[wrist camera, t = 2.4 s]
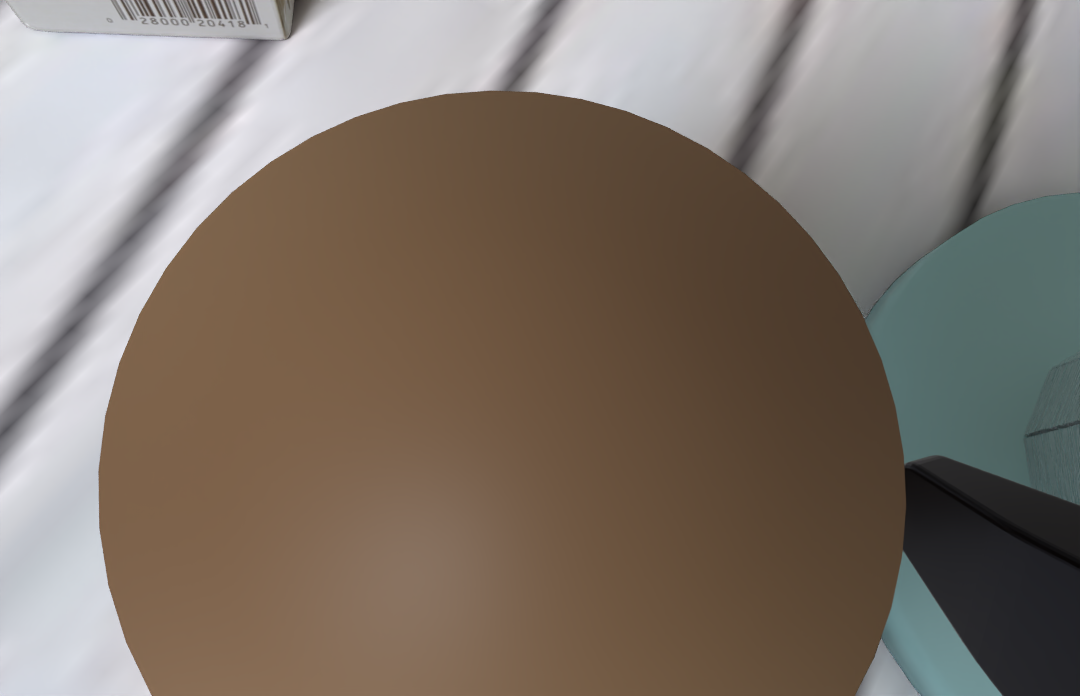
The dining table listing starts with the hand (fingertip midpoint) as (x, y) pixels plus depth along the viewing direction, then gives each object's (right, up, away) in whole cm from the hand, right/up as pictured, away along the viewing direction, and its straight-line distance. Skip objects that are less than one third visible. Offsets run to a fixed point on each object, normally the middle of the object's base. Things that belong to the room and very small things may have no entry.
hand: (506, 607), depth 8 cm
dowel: (-1, -2, +8) cm, 9 cm away
